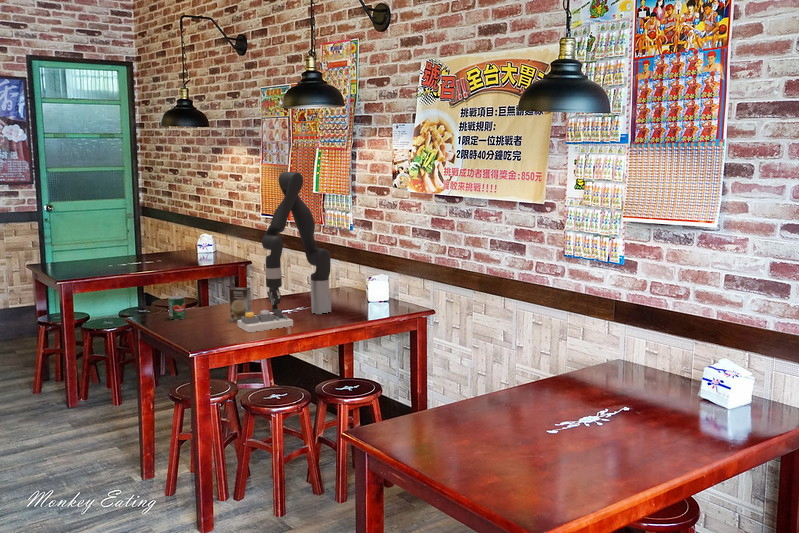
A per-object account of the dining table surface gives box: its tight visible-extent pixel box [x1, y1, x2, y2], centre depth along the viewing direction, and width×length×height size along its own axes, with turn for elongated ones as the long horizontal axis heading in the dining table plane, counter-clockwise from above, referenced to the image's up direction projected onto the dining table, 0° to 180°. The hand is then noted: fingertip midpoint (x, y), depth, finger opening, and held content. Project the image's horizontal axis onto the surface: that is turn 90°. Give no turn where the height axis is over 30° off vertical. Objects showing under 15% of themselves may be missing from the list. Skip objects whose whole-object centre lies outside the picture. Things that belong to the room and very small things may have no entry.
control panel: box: [237, 312, 294, 334], centre depth 352 cm, size 22×15×6 cm
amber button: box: [245, 311, 255, 319], centre depth 348 cm, size 4×4×3 cm
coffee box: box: [229, 286, 252, 323], centre depth 365 cm, size 9×6×16 cm
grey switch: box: [260, 309, 270, 317], centre depth 352 cm, size 4×4×3 cm
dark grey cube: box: [273, 308, 283, 318], centre depth 357 cm, size 3×3×4 cm
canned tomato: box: [167, 295, 187, 321], centre depth 371 cm, size 8×8×11 cm
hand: (275, 312), depth 359 cm, fingers closed
